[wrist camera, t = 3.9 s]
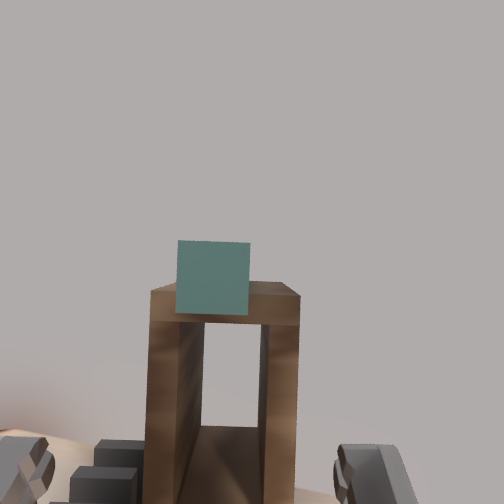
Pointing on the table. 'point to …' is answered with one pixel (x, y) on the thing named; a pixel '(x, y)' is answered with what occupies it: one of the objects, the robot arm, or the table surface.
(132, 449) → the domino
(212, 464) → the walnut stand
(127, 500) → the domino
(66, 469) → the table surface
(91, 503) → the domino
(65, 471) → the table surface
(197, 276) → the teal tile bar
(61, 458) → the table surface
